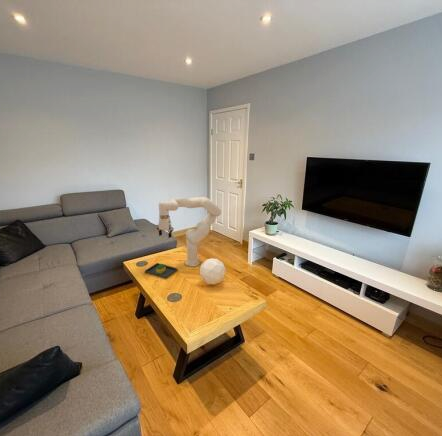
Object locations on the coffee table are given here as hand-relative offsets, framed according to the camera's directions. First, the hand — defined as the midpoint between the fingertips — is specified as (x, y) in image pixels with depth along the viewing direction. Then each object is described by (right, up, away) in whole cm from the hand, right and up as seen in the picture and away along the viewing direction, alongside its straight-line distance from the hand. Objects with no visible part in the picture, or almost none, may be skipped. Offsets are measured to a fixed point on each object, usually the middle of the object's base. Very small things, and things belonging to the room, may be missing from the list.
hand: (165, 236), depth 195 cm
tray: (-3, -30, 0) cm, 30 cm away
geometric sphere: (+39, -34, -15) cm, 54 cm away
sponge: (-3, -29, 0) cm, 29 cm away
